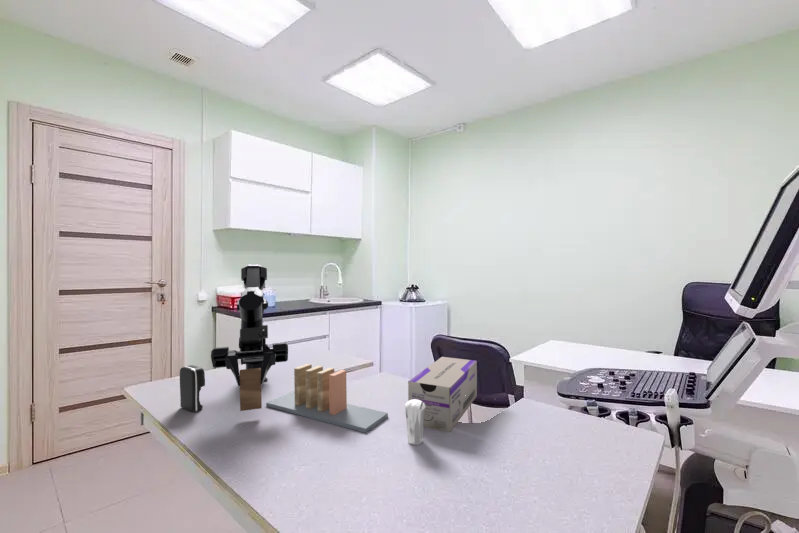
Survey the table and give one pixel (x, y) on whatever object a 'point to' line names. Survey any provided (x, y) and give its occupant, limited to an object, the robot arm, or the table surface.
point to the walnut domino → (250, 389)
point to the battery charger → (191, 387)
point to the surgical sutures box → (445, 391)
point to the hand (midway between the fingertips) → (250, 384)
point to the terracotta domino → (337, 392)
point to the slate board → (347, 418)
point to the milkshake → (415, 420)
